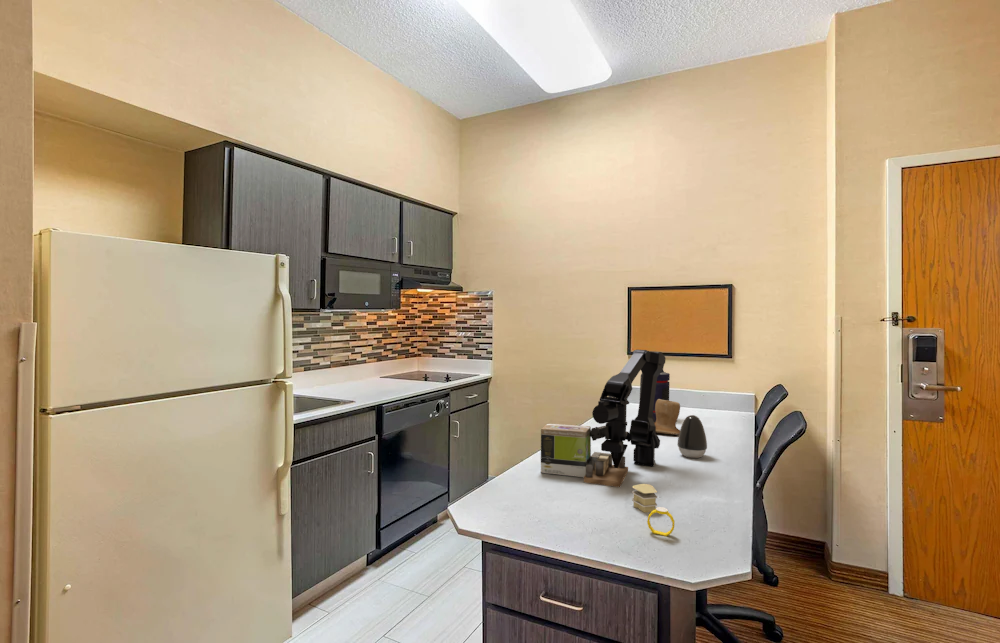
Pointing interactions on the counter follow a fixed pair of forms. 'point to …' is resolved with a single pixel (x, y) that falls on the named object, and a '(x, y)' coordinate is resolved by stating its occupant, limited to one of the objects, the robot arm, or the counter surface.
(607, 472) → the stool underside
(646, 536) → the counter surface
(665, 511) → the watch
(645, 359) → the robot arm
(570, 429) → the tea box
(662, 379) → the dark blue tall bottle
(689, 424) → the dark egg shaped device
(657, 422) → the tan boot
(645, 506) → the stacked layers on plate
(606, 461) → the oak leg
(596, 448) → the counter surface
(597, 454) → the corner bracket
